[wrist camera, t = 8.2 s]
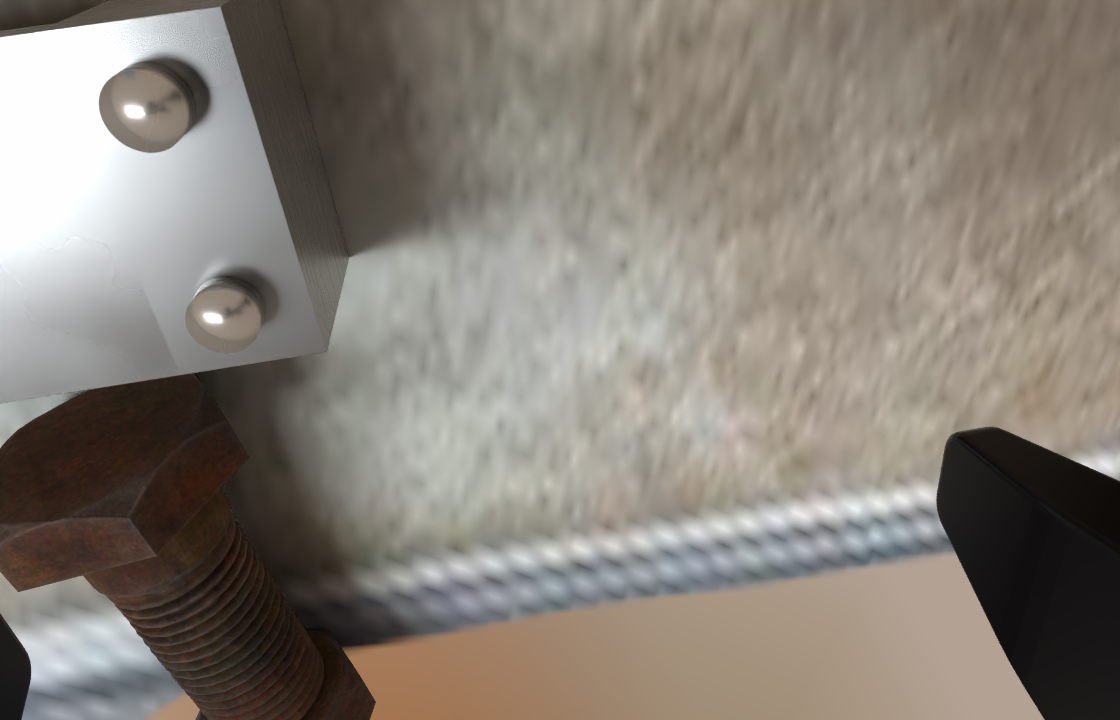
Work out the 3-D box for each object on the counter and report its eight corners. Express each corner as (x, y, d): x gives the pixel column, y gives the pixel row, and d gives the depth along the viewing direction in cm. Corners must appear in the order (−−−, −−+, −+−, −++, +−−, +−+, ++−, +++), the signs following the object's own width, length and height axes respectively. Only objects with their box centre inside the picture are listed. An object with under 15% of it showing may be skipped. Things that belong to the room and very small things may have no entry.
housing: (271, -28, 16) (210, 13, 12) (349, 258, 19) (322, 369, 15) (-271, 46, 15) (-529, 116, 11) (-98, 326, 18) (-251, 459, 14)
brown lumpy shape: (332, 693, 29) (112, 354, 21) (452, 727, 27) (261, 365, 19) (224, 861, 25) (-102, 523, 17) (356, 917, 23) (56, 561, 15)
